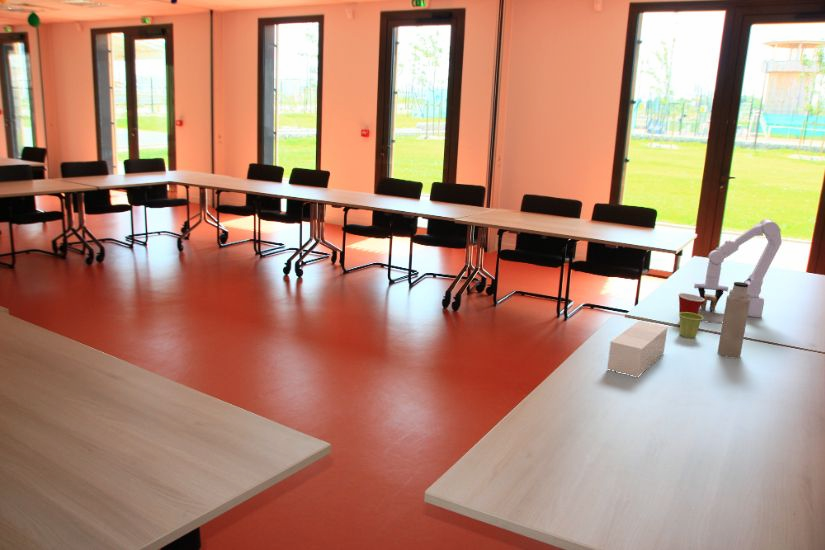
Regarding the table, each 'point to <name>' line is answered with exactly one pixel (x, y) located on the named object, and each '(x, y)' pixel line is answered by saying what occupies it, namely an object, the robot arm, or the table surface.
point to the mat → (711, 316)
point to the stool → (710, 298)
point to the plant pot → (689, 324)
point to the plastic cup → (689, 303)
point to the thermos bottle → (734, 321)
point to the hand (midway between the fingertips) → (708, 304)
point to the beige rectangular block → (637, 348)
